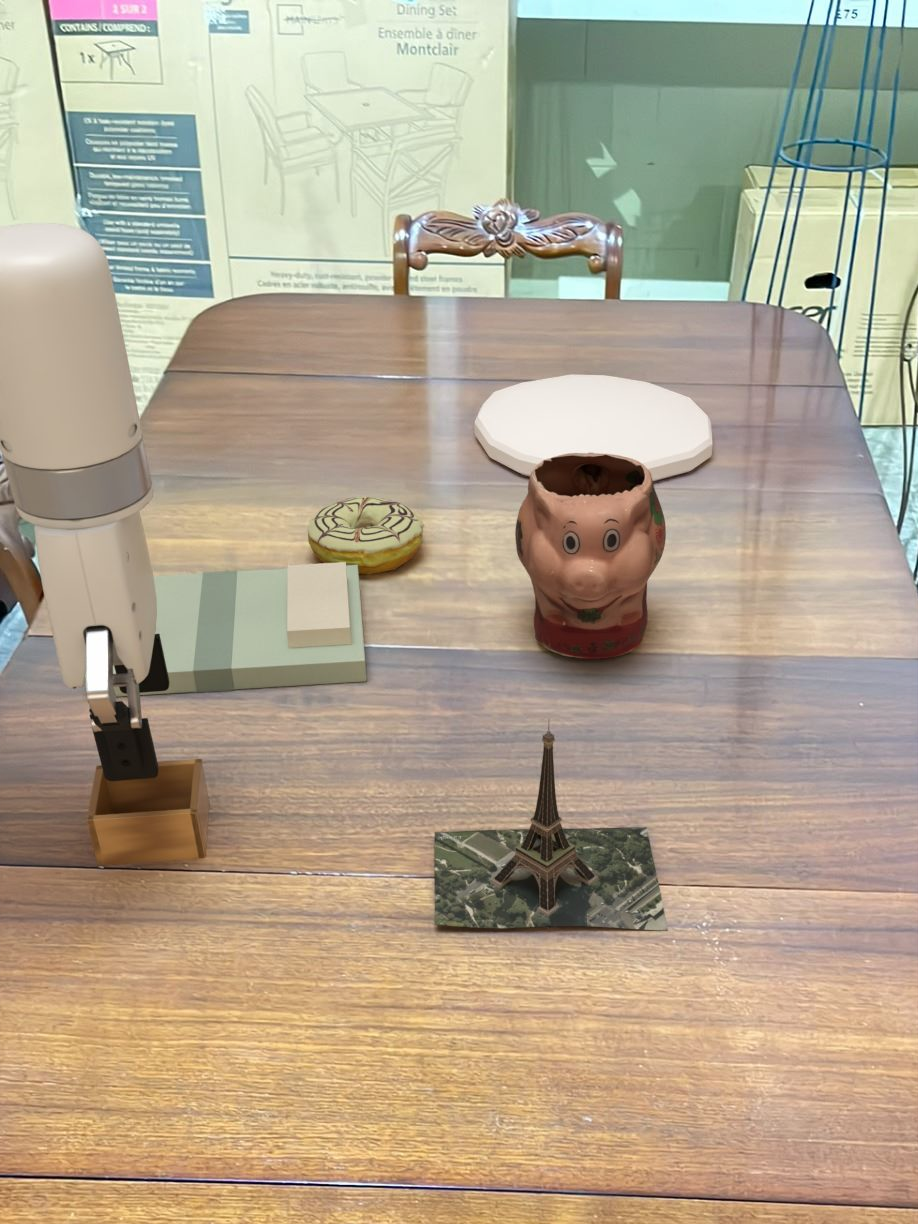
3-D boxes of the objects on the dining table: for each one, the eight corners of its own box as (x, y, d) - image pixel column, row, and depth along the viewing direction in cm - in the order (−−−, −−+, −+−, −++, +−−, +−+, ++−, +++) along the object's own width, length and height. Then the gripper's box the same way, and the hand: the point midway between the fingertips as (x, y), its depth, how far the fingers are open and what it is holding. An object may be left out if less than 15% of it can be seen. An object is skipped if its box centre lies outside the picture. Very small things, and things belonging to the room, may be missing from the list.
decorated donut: (429, 527, 129) (428, 490, 127) (418, 582, 121) (416, 543, 119) (320, 524, 130) (317, 486, 127) (302, 578, 122) (298, 539, 119)
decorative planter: (508, 569, 123) (509, 418, 114) (642, 566, 124) (653, 416, 115) (521, 689, 108) (523, 527, 99) (673, 685, 109) (689, 523, 100)
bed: (87, 699, 107) (78, 659, 105) (108, 598, 119) (99, 560, 117) (366, 682, 109) (363, 642, 107) (359, 585, 121) (356, 547, 119)
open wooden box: (102, 885, 90) (86, 820, 87) (111, 829, 95) (96, 765, 91) (209, 877, 91) (197, 812, 87) (213, 822, 96) (201, 758, 92)
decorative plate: (762, 421, 138) (547, 468, 130) (757, 460, 141) (546, 509, 132) (634, 343, 155) (437, 380, 146) (632, 380, 158) (438, 418, 149)
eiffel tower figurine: (649, 832, 95) (664, 667, 86) (667, 930, 87) (686, 761, 78) (434, 836, 94) (428, 671, 86) (434, 935, 87) (427, 765, 78)
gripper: (32, 417, 81) (94, 664, 93) (-16, 552, 68) (62, 820, 80) (160, 409, 82) (205, 656, 93) (135, 541, 69) (191, 809, 80)
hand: (139, 731), depth 86 cm, fingers open, 9 cm apart
